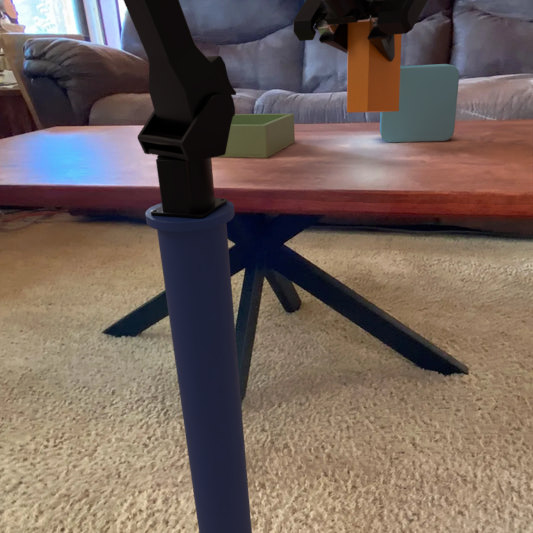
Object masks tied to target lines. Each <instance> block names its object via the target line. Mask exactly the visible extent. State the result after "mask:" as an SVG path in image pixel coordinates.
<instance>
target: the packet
mask: <svg viewBox="0 0 533 533" xmlns="http://www.w3.org/2000/svg"><path fill="white" fill-rule="evenodd" d="M373 23H374V22H372V20H370V21H366V22H355V23H348V54H347V63H346V65H347V68H346V69H347V70H346V72H347V73H346V78H347V79H346V86H347V87H346V113H349V114H350V113H351V114H352V113H353V114H354V113H359V114H360V113H380V112H393V111H399V91H400V66H401V64H402V63H401V62H402V60H401V59H402V35H403V34H394V39H395V57H394V59H393V61H391V62H389V61H388V60H387V59H386V58H385V57H384V56H383V55H382V54H381V53H380V52H379V51H378V50H377V49H376V48H375V47H374V45H373V44H372V43H371V42H370V41H369V40H368V39H367V37H368V36H369V34H370V32H371V30H372V28H373V27H374V26H373Z"/></svg>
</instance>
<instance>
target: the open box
mask: <svg viewBox="0 0 533 533" xmlns="http://www.w3.org/2000/svg"><path fill="white" fill-rule="evenodd" d="M295 135H296V134H295V113H235V116H234V117H233V118H232V122H231V127H230V132H229V137H228V143H227V148H226V153H225V155H222V156H218V157H217V158H247V159H248V158H249V159H250V158H251V159H255V158H256V159H267V158H269V157H272V156H273V155H275V154H277V153H279V152H280V151H282V150H283V149H285V148H287V147H289V146H290V145H292V144H295V142H296V140H295V139H296V136H295Z"/></svg>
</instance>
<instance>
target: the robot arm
mask: <svg viewBox="0 0 533 533" xmlns="http://www.w3.org/2000/svg"><path fill="white" fill-rule="evenodd" d="M428 1H429V0H305V1H304V2H303V4H302V6H301V7H300V9H299V11H298V12H297V14H296V16H295V17H294V19H293V21H292V31H293V33H294V35H295V36H296V38H297V39H298V41H299V42H303V41H313V40H314V39H315V37H316V34H317V31H318V33H319V35H320V36H319V38H318V41H319V43H320V44H326V45H328V46H329V47H332V48H334V49H337V50H339V51H341V52H343V53H344V54H347V55H348V23H355V22H366V21H370V20H372V22H374V23H373V26H374V27H373V28H372V30H371V32H370V34H369V36H368V37H367V39H368V40H369V41H370V42H371V43H372V44H373V45H374V47H375V48H376V49H377V50H378V51H379V52H380V53H381V54H382V55H383V56H384V57H385V58H386V59H387V60H388V61H389V62H391V61H393V59H394V57H395V39H394V34H402V35H406V34H408V33H410V32H411V31H412V30H413V29H414V27H415V25H416V23H417V21H418V19H419V17H420V16H421V14H422V12H423V10H424V9H425V7H426V5H427V3H428ZM123 3H124V5H125V8H126V10H127V12H128V15H129V16H130V19H131V21H132V24H133V26H134V28H135V31H136V33H137V35H138V38H139V40H140V43H141V45H142V47H143V49H144V52H145V54H146V57H147V60H148V92H149V96H150V100H151V104H152V107H153V111H152V112H151V114H150V115H149V117H148V119H147V120H146V122H145V123H144V125H143V127H142V128H141V130H140V131H139V133H138V135H137V136H136V137H137V141H138V143H139V145H140V146H141V147H140V148H141V149H142V152H143V153H144V154H145V155H154V156H156V159H155V162H156V171H157V179H158V186H159V194H160V203H162V205H161V206H159V207H157V208H155V209H154V210H152V211H151V216H162V217H176V218H190V219H204V218H206V217H207V216H209V215H210V214H212V213H213V212H215V211H216V210H218V209H219V208H221V207H222V206H224V205H225V204H227V201H228V199H227V198H220V199H219V197H215V185H214V172H213V163H212V159H213V158H219V157H218V156H222V155H225V153H226V148H227V143H228V137H229V132H230V127H231V122H232V118H233V117H234V116H235V114H236V106H235V102H234V101H235V100H234V98H233V96H236V95H237V91H236V90H235V89H234V87H233V85H232V84H231V82H230V79H229V75H228V72H227V66H226V63H225V61H224V59H223V57H222V56H221V55H209V56H207V55H205V54H204V53H203V52H202V50H201V49H200V48H199V47H198V46H197V44H196V42H195V40H194V37H193V35H192V32H191V29H190V26H189V24H188V21H187V18H186V16H185V13H184V10H183V7H182V5H181V2H180V0H123Z"/></svg>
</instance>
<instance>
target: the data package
mask: <svg viewBox="0 0 533 533" xmlns="http://www.w3.org/2000/svg"><path fill="white" fill-rule="evenodd" d="M459 82H460V71H459V69H458V68H457V67H456V66H455V65H454V64H448V63H439V64H418V65H400V91H399V111H393V112H379V133H380V136H381V139H382V140H383V141H384V142H386V143H419V142H420V143H421V142H422V143H423V142H424V143H425V142H426V143H427V142H446V141H449V140H450V139H451V138H452V137H453V135H454V134H455V128H456V127H455V126H456V115H457V105H458V104H457V103H458V95H459V94H458V93H459Z"/></svg>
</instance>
